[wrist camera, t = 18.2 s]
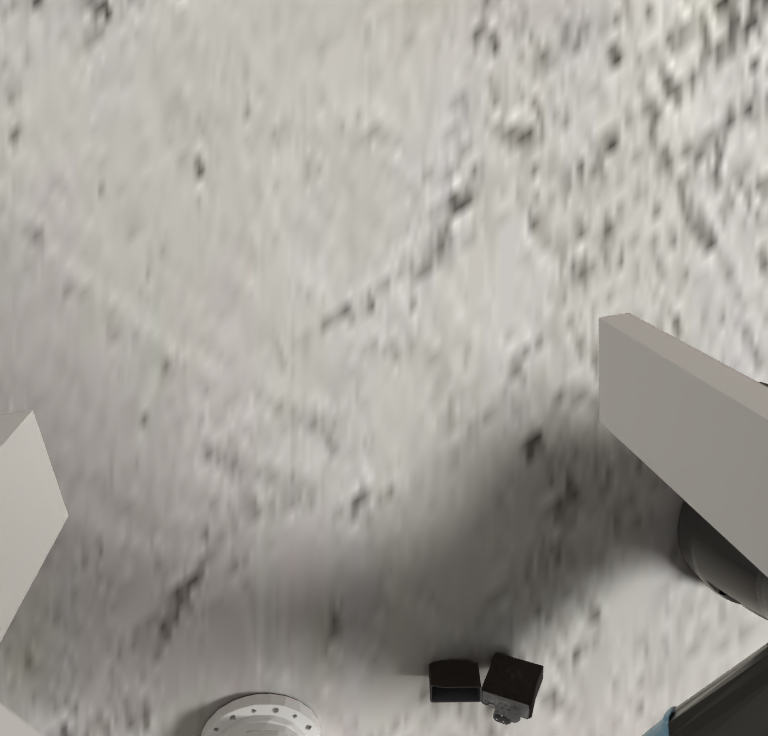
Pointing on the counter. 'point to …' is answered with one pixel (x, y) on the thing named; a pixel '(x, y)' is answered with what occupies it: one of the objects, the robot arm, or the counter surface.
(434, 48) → the counter surface
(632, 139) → the counter surface
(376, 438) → the counter surface
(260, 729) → the mechanical component
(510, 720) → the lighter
